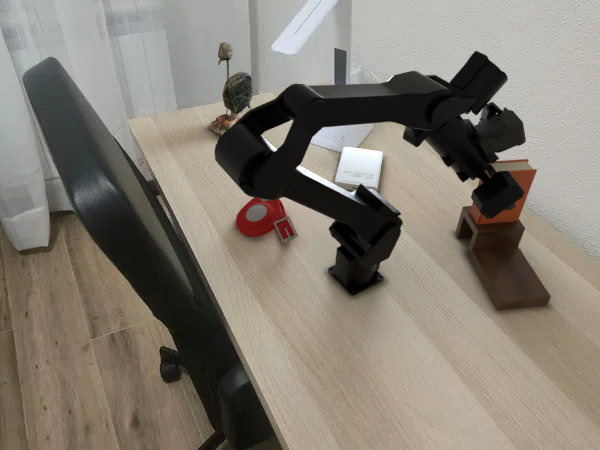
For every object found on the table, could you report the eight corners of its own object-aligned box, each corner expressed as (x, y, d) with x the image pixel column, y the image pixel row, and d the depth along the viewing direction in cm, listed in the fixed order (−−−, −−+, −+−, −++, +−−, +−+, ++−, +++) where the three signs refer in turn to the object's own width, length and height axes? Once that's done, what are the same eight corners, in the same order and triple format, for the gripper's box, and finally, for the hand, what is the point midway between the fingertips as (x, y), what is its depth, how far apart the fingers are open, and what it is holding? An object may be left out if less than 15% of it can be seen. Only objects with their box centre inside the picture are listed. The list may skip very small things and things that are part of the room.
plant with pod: (264, 127, 120) (263, 37, 107) (218, 142, 115) (211, 49, 102) (245, 111, 125) (241, 24, 112) (200, 125, 120) (191, 35, 107)
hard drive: (382, 158, 112) (376, 194, 103) (342, 152, 113) (333, 188, 104) (383, 151, 111) (377, 187, 102) (343, 146, 112) (334, 181, 103)
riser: (497, 310, 82) (508, 282, 78) (454, 233, 95) (462, 206, 91) (546, 305, 83) (560, 277, 79) (498, 229, 96) (507, 202, 92)
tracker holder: (225, 229, 92) (246, 185, 98) (234, 245, 95) (254, 202, 101) (291, 235, 87) (309, 188, 93) (298, 252, 91) (315, 206, 96)
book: (476, 224, 88) (492, 172, 81) (469, 212, 90) (484, 161, 84) (517, 221, 89) (537, 170, 82) (509, 209, 91) (527, 158, 84)
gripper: (531, 135, 68) (581, 199, 77) (473, 69, 82) (521, 130, 91) (457, 190, 72) (512, 245, 81) (413, 118, 86) (464, 172, 95)
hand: (503, 194), depth 86 cm, fingers open, 6 cm apart
